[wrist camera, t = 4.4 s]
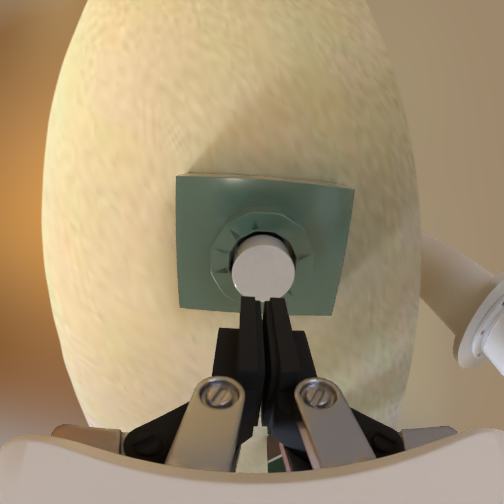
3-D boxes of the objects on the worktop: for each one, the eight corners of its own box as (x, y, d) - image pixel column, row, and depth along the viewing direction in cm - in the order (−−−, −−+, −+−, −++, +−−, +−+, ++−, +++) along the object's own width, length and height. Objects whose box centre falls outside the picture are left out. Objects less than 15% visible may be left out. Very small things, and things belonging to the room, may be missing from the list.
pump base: (341, 184, 20) (366, 193, 15) (323, 297, 23) (337, 330, 19) (186, 172, 20) (166, 178, 15) (187, 289, 23) (173, 322, 19)
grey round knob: (293, 236, 17) (298, 247, 15) (287, 287, 18) (291, 303, 16) (235, 232, 17) (232, 243, 15) (232, 285, 18) (230, 301, 16)
